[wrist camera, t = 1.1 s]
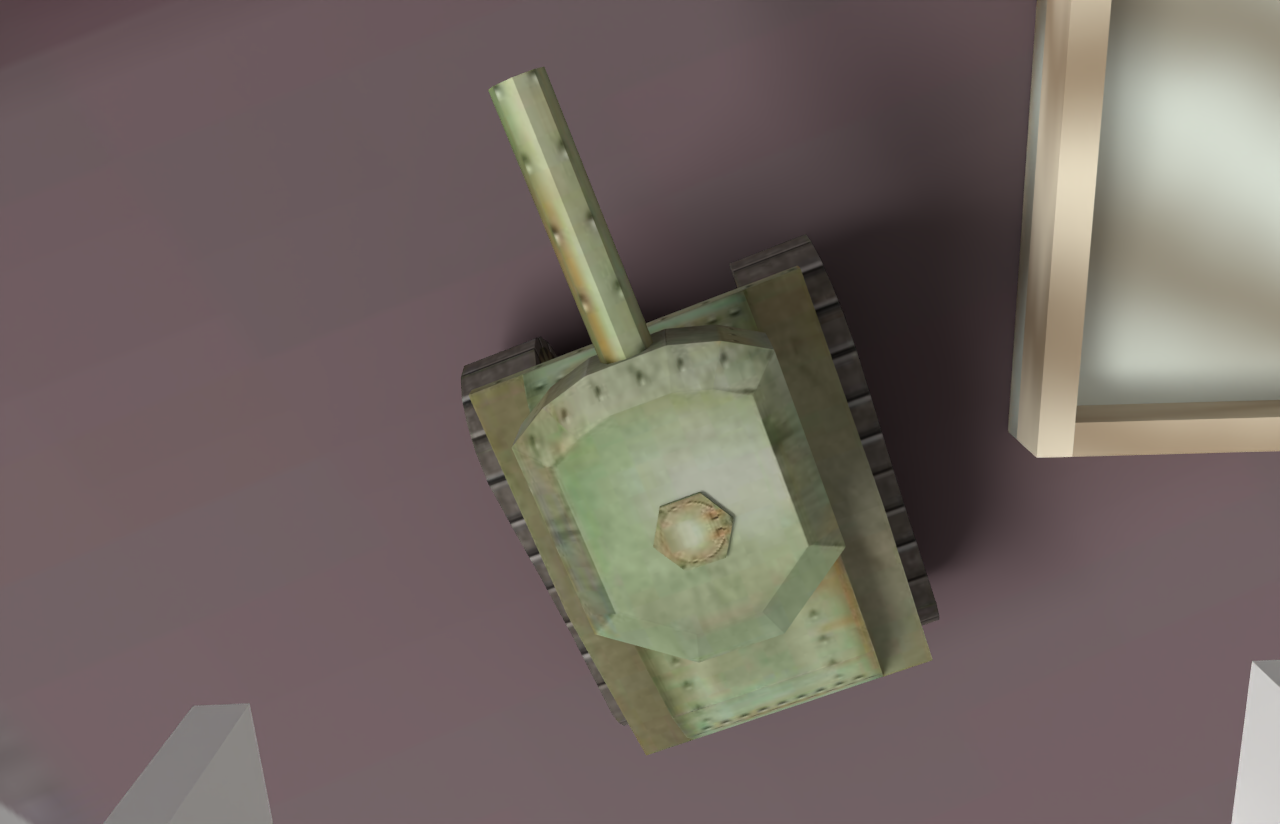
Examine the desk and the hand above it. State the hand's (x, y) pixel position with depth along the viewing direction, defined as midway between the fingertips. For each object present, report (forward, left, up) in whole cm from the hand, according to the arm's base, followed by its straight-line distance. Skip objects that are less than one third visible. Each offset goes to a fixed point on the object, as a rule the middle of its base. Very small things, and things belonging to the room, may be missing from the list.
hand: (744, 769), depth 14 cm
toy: (0, -1, -19) cm, 19 cm away
